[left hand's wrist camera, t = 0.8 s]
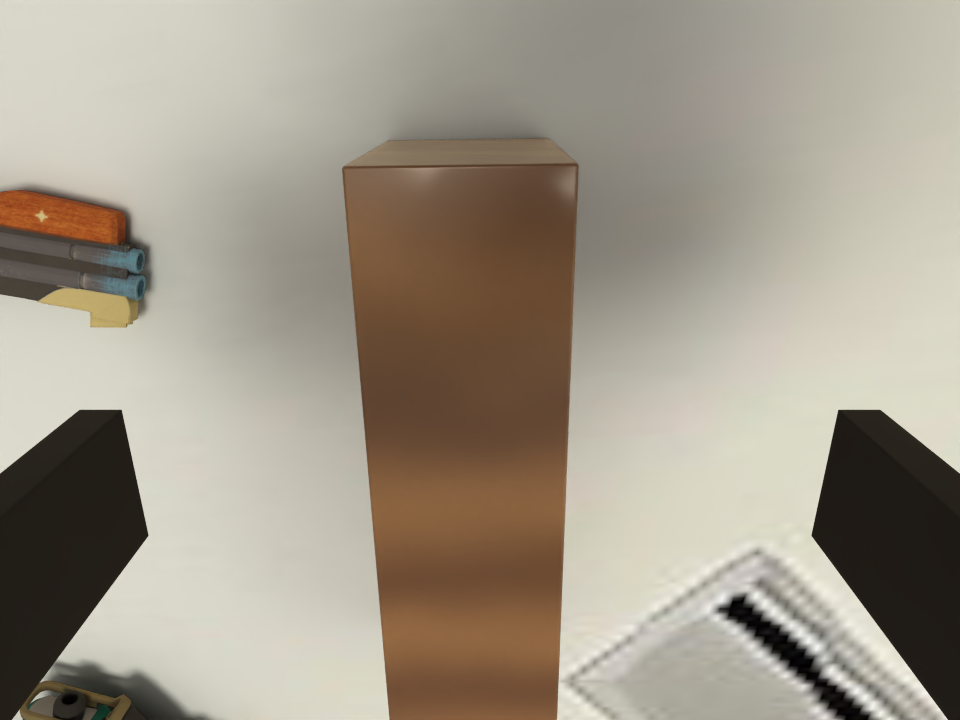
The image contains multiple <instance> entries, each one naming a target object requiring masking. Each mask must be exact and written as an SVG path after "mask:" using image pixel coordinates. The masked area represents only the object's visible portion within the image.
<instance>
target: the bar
mask: <svg viewBox="0 0 960 720" xmlns="http://www.w3.org/2000/svg"><path fill="white" fill-rule="evenodd" d="M578 169H579V166H578V164H577V163H576V162H575V161H574V160H573V159H572V158H571V157H569V156H568V155H567V154H566V153H565V152H564V151H563V150H561V149H560V148H559V147H558V146H557V145H556V144H555V143H553V142H552V141H551V140H550V139H548V138H531V139H457V140H389V141H387V142H385V143H383V144H382V145H380V146H378V147H376V148H375V149H373V150H371V151H369V152H368V153H366V154H364V155H362V156H361V157H359V158H357V159H356V160H354V161H352V162H350V163H349V164H347V165H345V166H343V168H342V174H343V185H344V197H345V208H346V220H347V231H348V243H349V255H350V266H351V278H352V289H353V301H354V313H355V324H356V336H357V347H358V359H359V371H360V382H361V394H362V405H363V417H364V429H365V440H366V452H367V463H368V475H369V487H370V498H371V510H372V521H373V533H374V545H375V556H376V568H377V579H378V591H379V603H380V614H381V626H382V637H383V649H384V661H385V672H386V684H387V695H388V707H389V718H390V720H557V706H558V680H559V655H560V629H561V604H562V578H563V552H564V527H565V501H566V476H567V450H568V425H569V399H570V374H571V348H572V323H573V297H574V272H575V246H576V221H577V195H578Z"/></svg>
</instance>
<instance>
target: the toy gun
mask: <svg viewBox="0 0 960 720" xmlns="http://www.w3.org/2000/svg"><path fill="white" fill-rule="evenodd" d="M125 232H126V220H125V217H124V214H123V213H122V212H120V211H116V210H112V209H108V208H104V207H99V206H95V205H91V204H86V203H82V202H78V201H73V200H68V199H63V198H59V197H54V196H49V195H44V194H40V193H35V192H30V191H23V190H16V191H5V192H0V294H2V295H8V296H14V297H20V298H26V299H31V300H36V301H38V302H40V303H45V304H50V305H56V306H62V307H67V308H73V309H78V310H84V311H89V312H91V322H90V327H127V324H133V321H134V320H136V319H138V301H140V300H141V299H142V298H143V296H144V293H145V290H146V280H145V277H144V275H138V274H139V273H140V272H141V271H142V270H143V267H144V264H145V254H144V251H143V250H140V249H136V245H133V244H128V243H125ZM135 273H136V274H135Z"/></svg>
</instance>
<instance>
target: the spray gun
mask: <svg viewBox="0 0 960 720" xmlns="http://www.w3.org/2000/svg"><path fill="white" fill-rule="evenodd" d="M45 690H52V691H55V692H59V693H62V694H61V695H60V696H59V697H54V696H47V697H43V698H40V699H37V700H35V701H33V702H32V703H31V701H32V700H33V699H34V698H35V696H36V695H38V694H39V693H40V692H42V691H45ZM97 703H100V704H103V705H101V706H100V707H99V708H98V709H96V705H97ZM130 704H131V700H130V699H129V698H128V697H126V696H125V695H120V696H119V697H117V698H112V697H109V696H105V695H102V694H98V693H94V692H91V691H87V690H83V689H80V688H76V687H73V686H69V685H65V684H62V683H58V682H55V681H44V682H41V683H39V684H38V685H37V687H36V688H35V689H34V691H33V692H32V693H31V695H30V696H29V697H28V699H27V700H26V701H25V703H24V704H23V705H22V707H21V708H20V714H21V717H22V718H23V720H147V719H146V718H145V717H144V716H143V715H142V714H141V713H140V712H139V711H138V710H137V709H136V708H134V707H133V706H130ZM106 705H107V706H106ZM108 706H111V707H114V708H115V709H113V710H112V711H110V709H109V708H108Z"/></svg>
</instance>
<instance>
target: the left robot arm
mask: <svg viewBox="0 0 960 720" xmlns="http://www.w3.org/2000/svg"><path fill="white" fill-rule="evenodd" d="M147 537H148V531H147V526H146V522H145V517H144V512H143V508H142V503H141V498H140V494H139V489H138V484H137V480H136V475H135V470H134V466H133V461H132V456H131V452H130V447H129V442H128V438H127V433H126V428H125V424H124V419H123V414H122V410H79V411H78V412H76V413H75V414H74V415H73V416H72V417H70V418H69V419H68V420H67V421H65V422H64V423H63V424H62V425H60V426H59V427H58V428H57V429H55V430H54V431H53V432H52V433H50V434H49V435H48V436H47V437H45V438H44V439H43V440H42V441H40V442H39V443H38V444H37V445H35V446H34V447H33V448H32V449H30V450H29V451H28V452H27V453H25V454H24V455H23V456H22V457H20V458H19V459H18V460H17V461H15V462H14V463H13V464H12V465H10V466H9V467H8V468H7V469H5V470H4V471H3V472H2V473H0V720H12V719H13V718H14V716H15V715H16V714H17V712H18V711H19V709H20V708H21V707H22V705H23V704H24V703H25V701H26V700H27V699H28V697H29V696H30V695H31V693H32V692H33V691H34V689H35V688H36V687H37V685H38V684H39V683H40V681H41V680H42V678H43V677H44V676H45V674H46V673H47V672H48V670H49V669H50V668H51V666H52V665H53V664H54V662H55V661H56V660H57V658H58V657H59V656H60V654H61V653H62V652H63V650H64V649H65V647H66V646H67V645H68V643H69V642H70V641H71V639H72V638H73V637H74V635H75V634H76V633H77V631H78V630H79V629H80V627H81V626H82V625H83V623H84V622H85V621H86V619H87V618H88V616H89V615H90V614H91V612H92V611H93V610H94V608H95V607H96V606H97V604H98V603H99V602H100V600H101V599H102V598H103V596H104V595H105V594H106V592H107V591H108V590H109V588H110V587H111V585H112V584H113V583H114V581H115V580H116V579H117V577H118V576H119V575H120V573H121V572H122V571H123V569H124V568H125V567H126V565H127V564H128V563H129V561H130V560H131V559H132V557H133V556H134V554H135V553H136V552H137V550H138V549H139V548H140V546H141V545H142V544H143V542H144V541H145V540H146V538H147ZM812 537H813V538H814V540H815V541H816V542H817V544H818V545H819V546H820V548H821V549H822V550H823V552H824V553H825V554H826V556H827V557H828V559H829V560H830V561H831V563H832V564H833V565H834V567H835V568H836V569H837V571H838V572H839V573H840V575H841V576H842V577H843V579H844V580H845V581H846V583H847V584H848V585H849V587H850V588H851V590H852V591H853V592H854V594H855V595H856V596H857V598H858V599H859V600H860V602H861V603H862V604H863V606H864V607H865V608H866V610H867V611H868V612H869V614H870V615H871V616H872V618H873V619H874V621H875V622H876V623H877V625H878V626H879V627H880V629H881V630H882V631H883V633H884V634H885V635H886V637H887V638H888V639H889V641H890V642H891V643H892V645H893V646H894V647H895V649H896V650H897V652H898V653H899V654H900V656H901V657H902V658H903V660H904V661H905V662H906V664H907V665H908V666H909V668H910V669H911V670H912V672H913V673H914V674H915V676H916V677H917V678H918V680H919V681H920V683H921V684H922V685H923V687H924V688H925V689H926V691H927V692H928V693H929V695H930V696H931V697H932V699H933V700H934V701H935V703H936V704H937V705H938V707H939V708H940V709H941V711H942V712H943V714H944V715H945V716H946V718H947V719H948V720H960V473H958V472H957V471H956V470H955V469H953V468H952V467H951V466H950V465H948V464H947V463H946V462H945V461H943V460H942V459H941V458H940V457H938V456H937V455H936V454H935V453H933V452H932V451H931V450H930V449H928V448H927V447H926V446H925V445H923V444H922V443H921V442H920V441H918V440H917V439H916V438H915V437H913V436H912V435H911V434H910V433H908V432H907V431H906V430H905V429H903V428H902V427H901V426H900V425H898V424H897V423H896V422H895V421H893V420H892V419H891V418H890V417H888V416H887V415H886V414H885V413H884V412H882V411H881V410H838V414H837V419H836V424H835V428H834V433H833V438H832V442H831V447H830V452H829V456H828V461H827V466H826V470H825V475H824V480H823V484H822V489H821V494H820V498H819V503H818V508H817V512H816V517H815V522H814V526H813V531H812Z"/></svg>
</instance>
